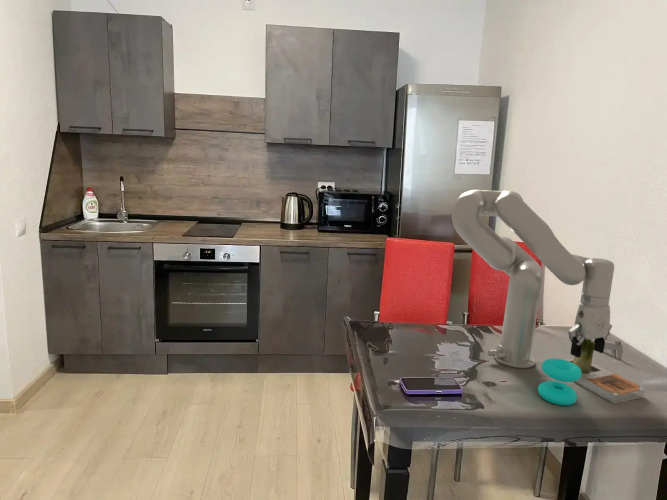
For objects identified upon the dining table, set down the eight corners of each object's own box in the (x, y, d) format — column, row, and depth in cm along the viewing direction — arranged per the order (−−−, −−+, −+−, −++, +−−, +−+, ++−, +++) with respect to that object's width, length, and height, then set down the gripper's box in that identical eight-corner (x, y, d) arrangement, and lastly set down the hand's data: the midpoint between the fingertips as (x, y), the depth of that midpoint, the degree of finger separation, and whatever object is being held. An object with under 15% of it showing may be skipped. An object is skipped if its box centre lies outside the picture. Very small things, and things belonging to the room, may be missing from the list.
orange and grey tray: (614, 403, 138) (615, 394, 138) (551, 368, 158) (552, 360, 157) (643, 397, 143) (645, 388, 143) (578, 364, 163) (580, 356, 162)
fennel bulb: (590, 379, 152) (598, 342, 149) (573, 377, 153) (580, 340, 150) (585, 371, 158) (592, 335, 155) (568, 368, 159) (575, 333, 156)
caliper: (620, 360, 168) (624, 343, 167) (618, 360, 168) (622, 343, 167) (571, 337, 187) (574, 321, 185) (569, 337, 186) (572, 321, 185)
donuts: (534, 357, 141) (564, 355, 143) (529, 390, 143) (558, 387, 146) (560, 374, 131) (591, 371, 134) (553, 408, 133) (584, 405, 136)
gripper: (584, 306, 143) (576, 362, 147) (626, 301, 150) (617, 354, 154) (563, 299, 150) (556, 352, 153) (604, 294, 157) (596, 345, 160)
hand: (586, 353), depth 153 cm, fingers open, 9 cm apart
